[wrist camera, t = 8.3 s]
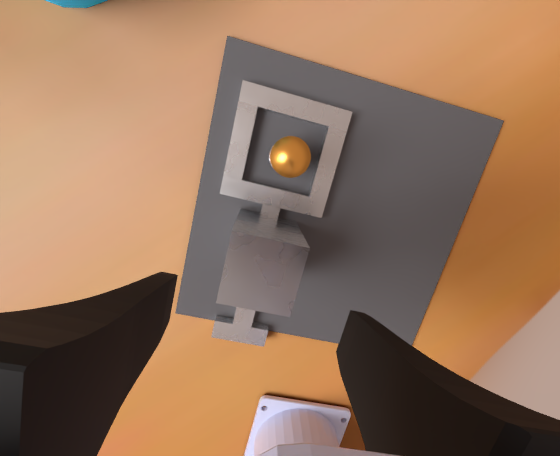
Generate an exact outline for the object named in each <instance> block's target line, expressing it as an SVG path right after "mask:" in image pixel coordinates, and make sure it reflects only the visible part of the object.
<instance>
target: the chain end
mask: <svg viewBox="0 0 560 456" xmlns="http://www.w3.org/2000/svg"><path fill="white" fill-rule="evenodd" d="M258 109H262V110H265V111H269V112H272V113H276V114H280V115H283V116H287V117H290V118H294V119H297V120H301V121H305V122H308V123H312V124H315V125H319V126H323V127H326V130H325V134H324V138H323V141H322V145H321V148H320V152H319V156H318V159H317V163H316V167H315V170H314V174H313V177H312V181H311V185H310V188H309V192H308V195H305V194H300V193H296V192H292V191H288V190H284V189H280V188H276V187H272V186H268V185H264V184H260V183H256V182H252V181H248V180H244V179H243V174H244V170H245V165H246V161H247V156H248V152H249V147H250V143H251V138H252V133H253V129H254V124H255V120H256V115H257V111H258ZM351 116H352V112H351V111H348V110H344V109H341V108H338V107H334V106H331V105H327V104H324V103H320V102H317V101H313V100H310V99H307V98H303V97H300V96H296V95H293V94H289V93H286V92H282V91H279V90H276V89H272V88H269V87H265V86H262V85H258V84H255V83H251V82H248V81H244V80H243V81H242V86H241V91H240V96H239V101H238V106H237V111H236V116H235V121H234V126H233V130H232V135H231V140H230V145H229V150H228V155H227V160H226V165H225V170H224V175H223V179H222V184H221V189H220V194H223V195H227V196H231V197H236V198H240V199H244V200H248V201H252V202H256V203H261V204H262V208H261V212H260V213H257V212H253V211H249V210H245V209H240V211H239V214H238V216H237V219H236V221H235V224H234V226H233V229H232V232H231V236H230V241H229V245H228V250H227V255H226V259H225V264H224V268H223V273H222V277H221V282H220V286H219V291H218V295H217V300H216V303H218V304H223V305H229V306H234V307H236V310H235V314H234V318H231V317H226V316H220V315H217V316H216V319H215V323H214V328H213V332H212V337H213V338H219V339H224V340H230V341H236V342H241V343H247V344H253V345H258V346H264V344H265V341H266V337H267V334H268V324H263V323H258V322H253V319H254V315H255V311H260V312H265V313H270V314H275V315H280V316H286V317H290V315H291V312H292V308H293V305H294V301H295V298H296V295H297V291H298V288H299V284H300V281H301V277H302V274H303V270H304V267H305V263H306V260H307V257H308V253H309V250H310V247H309V246H308V244H307V242H306V240H305V238H304V236H303V234H302V232H301V230H300V228H299V226H298V224H297V223H296V221H291V220H287V219H283V218H279V217H278V216H279V212H280V208H282V209H286V210H290V211H294V212H298V213H302V214H307V215H311V216H315V217H319V218H322V215H323V211H324V208H325V205H326V201H327V198H328V194H329V191H330V187H331V184H332V181H333V177H334V174H335V170H336V167H337V164H338V160H339V157H340V153H341V150H342V146H343V143H344V140H345V136H346V133H347V129H348V126H349V122H350V119H351Z"/></svg>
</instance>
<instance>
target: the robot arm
mask: <svg viewBox="0 0 560 456" xmlns="http://www.w3.org/2000/svg"><path fill="white" fill-rule="evenodd" d="M177 276H178V275H175V274H170V273H165V272H159V273H156V274H154V275H151V276H149V277H146V278H144V279H141V280H139V281H136V282H134V283H131V284H129V285H126V286H123V287H121V288H118V289H115V290H112V291H109V292H106V293H103V294H100V295H97V296H93V297H90V298H86V299H82V300H78V301H74V302H69V303H64V304H59V305H53V306H47V307H42V308H36V309H30V310H22V311H14V312H4V313H0V456H97V454H98V452H99V450H100V448H101V446H102V444H103V442H104V439H105V437H106V435H107V433H108V431H109V429H110V427H111V425H112V423H113V421H114V419H115V417H116V415H117V413H118V411H119V409H120V407H121V405H122V403H123V402H124V400H125V398H126V396H127V395H128V393H129V391H130V390H131V388H132V386H133V385H134V383H135V382H136V380H137V378H138V377H139V375H140V374H141V372H142V370H143V369H144V367H145V366H146V364H147V362H148V361H149V359H150V357H151V356H152V354H153V353H154V351H155V349H156V348H157V346H158V344H159V343H160V340H161V338H162V336H163V334H164V332H165V329H166V327H167V325H168V323H169V319H170V314H171V308H172V303H173V298H174V292H175V287H176V281H177ZM336 353H337V359H338V364H339V369H340V373H341V377H342V380H343V383H344V386H345V388H346V391H347V394H348V397H349V400H350V403H351V406H352V408H353V411H354V414H355V417H356V420H357V422H358V425H359V428H360V431H361V434H362V438H363V441H364V445H365V449H366V451H364V450H356V449H349V448H342V447H339V446H340V443H341V441H342V438H343V435H344V433H345V430H346V427H347V425H348V422H349V419H350V417H351V413H350V410H349V409H348V408H345V407H339V406H332V405H326V404H320V403H313V402H307V401H301V400H294V399H288V398H282V397H275V396H269V395H264V396H262V397H261V398H260V400H259V404H258V407H257V411H256V414H255V418H254V421H253V425H252V428H251V432H250V435H249V439H248V442H247V446H246V449H245V453H244V456H560V420H557V419H555V418H552V417H549V416H547V415H544V414H541V413H539V412H536V411H533V410H531V409H528V408H526V407H524V406H521V405H519V404H517V403H515V402H512V401H510V400H507V399H505V398H503V397H501V396H499V395H496V394H495V393H492V392H490V391H488V390H486V389H484V388H482V387H480V386H478V385H476V384H474V383H472V382H470V381H468V380H466V379H465V378H463V377H461V376H459V375H457V374H455V373H454V372H452V371H450V370H449V369H447V368H445V367H444V366H442V365H440V364H438V363H437V362H435V361H434V360H432V359H430V358H429V357H427V356H426V355H424V354H423V353H421V352H420V351H419V350H417V349H416V348H414V347H413V346H411V345H410V344H408V343H407V342H406V341H404V340H403V339H401V338H400V337H399V336H397V335H396V334H395V333H393V332H392V331H391V330H389V329H388V328H386V327H385V326H384V325H382V324H381V323H380V322H378V321H377V320H375V319H374V318H372V317H371V316H369V315H367V314H365V313H363V312H358V311H353V310H350V312H349V315H348V318H347V321H346V324H345V327H344V330H343V333H342V336H341V339H340V342H339V345H338V348H337V351H336ZM262 406H266V407H262ZM342 418H343V419H342Z"/></svg>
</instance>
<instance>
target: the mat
mask: <svg viewBox="0 0 560 456" xmlns="http://www.w3.org/2000/svg"><path fill="white" fill-rule="evenodd" d="M243 80H244V81H248V82H251V83H255V84H258V85H262V86H265V87H269V88H272V89H276V90H279V91H282V92H286V93H289V94H293V95H296V96H300V97H303V98H307V99H310V100H313V101H317V102H320V103H324V104H327V105H331V106H334V107H338V108H341V109H344V110H348V111H351V112H352V116H351V119H350V122H349V126H348V129H347V133H346V136H345V140H344V143H343V146H342V150H341V153H340V157H339V160H338V164H337V167H336V170H335V174H334V177H333V181H332V184H331V187H330V191H329V194H328V198H327V201H326V205H325V208H324V211H323V215H322V218H319V217H315V216H311V215H307V214H302V213H298V212H294V211H290V210H286V209H282V208H280V212H279V216H278V217H279V218H283V219H287V220H291V221H296V223H297V224H298V226H299V228H300V230H301V232H302V234H303V236H304V238H305V240H306V242H307V244H308V246H309V247H310V250H309V253H308V257H307V260H306V263H305V267H304V270H303V274H302V277H301V281H300V284H299V288H298V291H297V295H296V298H295V301H294V305H293V308H292V312H291V315H290V317H286V316H280V315H275V314H270V313H265V312H260V311H255V315H254V319H253V322H258V323H263V324H268V331H274V332H279V333H285V334H290V335H295V336H301V337H306V338H311V339H317V340H322V341H328V342H333V343H338V344H339V342H340V339H341V336H342V333H343V330H344V327H345V324H346V321H347V318H348V315H349V312H350V310H353V311H358V312H363V313H365V314H367V315H369V316H371V317H372V318H374V319H375V320H377V321H378V322H380V323H381V324H382V325H384V326H385V327H386V328H388V329H389V330H391V331H392V332H393V333H395V334H396V335H397V336H399V337H400V338H401V339H403V340H404V341H406V342H407V343H408V344H410V345H411V346H412V344H413V341H414V339H415V336H416V334H417V332H418V329H419V327H420V324H421V322H422V319H423V317H424V314H425V312H426V310H427V307H428V305H429V302H430V300H431V297H432V295H433V293H434V290H435V288H436V285H437V283H438V280H439V278H440V275H441V273H442V271H443V268H444V266H445V263H446V261H447V258H448V256H449V253H450V251H451V249H452V246H453V244H454V241H455V239H456V236H457V234H458V231H459V229H460V227H461V224H462V222H463V219H464V217H465V214H466V212H467V210H468V207H469V205H470V202H471V200H472V197H473V195H474V192H475V190H476V188H477V185H478V183H479V180H480V178H481V175H482V173H483V170H484V168H485V166H486V163H487V161H488V158H489V156H490V153H491V151H492V149H493V146H494V144H495V141H496V139H497V136H498V134H499V131H500V129H501V127H502V124H503V122H504V121H503V120H500V119H497V118H493V117H490V116H487V115H483V114H480V113H477V112H474V111H470V110H467V109H464V108H461V107H457V106H454V105H451V104H448V103H444V102H441V101H438V100H435V99H431V98H428V97H425V96H422V95H418V94H415V93H412V92H409V91H405V90H402V89H399V88H396V87H392V86H389V85H386V84H383V83H379V82H376V81H373V80H370V79H366V78H363V77H360V76H357V75H353V74H350V73H347V72H344V71H340V70H337V69H334V68H330V67H327V66H324V65H321V64H317V63H314V62H311V61H308V60H304V59H301V58H298V57H295V56H291V55H288V54H285V53H282V52H278V51H275V50H272V49H269V48H265V47H262V46H259V45H256V44H252V43H249V42H246V41H243V40H239V39H236V38H233V37H230V36H227V40H226V46H225V51H224V56H223V62H222V67H221V72H220V78H219V83H218V89H217V94H216V99H215V105H214V110H213V115H212V121H211V126H210V131H209V137H208V142H207V147H206V153H205V158H204V163H203V169H202V174H201V179H200V185H199V190H198V196H197V201H196V206H195V212H194V217H193V222H192V228H191V233H190V238H189V244H188V249H187V254H186V260H185V265H184V270H183V276H182V281H181V287H180V292H179V297H178V303H177V308H176V313H177V314H182V315H188V316H193V317H198V318H204V319H209V320H215V319H216V316H217V315H220V316H226V317H231V318H234V314H235V310H236V307H234V306H229V305H223V304H218V303H216V300H217V295H218V291H219V286H220V282H221V277H222V273H223V268H224V264H225V259H226V255H227V250H228V245H229V241H230V236H231V232H232V229H233V226H234V224H235V221H236V219H237V216H238V214H239V211H240V209H245V210H249V211H253V212H257V213H260V212H261V208H262V204H261V203H256V202H252V201H248V200H244V199H240V198H236V197H231V196H227V195H223V194H220V189H221V184H222V179H223V175H224V170H225V165H226V160H227V155H228V150H229V145H230V140H231V135H232V130H233V126H234V121H235V116H236V111H237V106H238V101H239V96H240V91H241V86H242V81H243ZM325 130H326V127H323V126H319V125H315V124H312V123H308V122H305V121H301V120H297V119H294V118H290V117H287V116H283V115H280V114H276V113H272V112H269V111H265V110H262V109H258V111H257V115H256V120H255V124H254V129H253V133H252V138H251V143H250V147H249V152H248V156H247V161H246V165H245V170H244V174H243V179H244V180H248V181H252V182H256V183H260V184H264V185H268V186H272V187H276V188H280V189H284V190H288V191H292V192H296V193H300V194H305V195H308V192H309V188H310V185H311V181H312V177H313V174H314V170H315V167H316V163H317V159H318V156H319V152H320V148H321V145H322V141H323V138H324V134H325ZM286 136H295V137H298V138H300V139H302V140H303V141H304V142H305V143H306V144H307V145H308V147H309V149H310V153H311V161H310V164H309V167H308V168H307V170H306V171H305V172H304V173H303V174H301V175H300V176H297V177H294V178H287V177H283V176H281V175H280V174H278V173H277V172H276V171H275V170H274V169H273V168H272V166H271V165H270V163H269V160H268V153H269V150H270V148H271V147H272V146H273V145H274V144H275V143H276V142H277V141H278V140H280V139H281V138H283V137H286Z"/></svg>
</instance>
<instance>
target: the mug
mask: <svg viewBox="0 0 560 456" xmlns="http://www.w3.org/2000/svg"><path fill="white" fill-rule="evenodd" d="M45 1H48V2H51V3H54V4H56V5H59V6H62V7H72V8H88V7H91V6H94V5H96V4H99V3H102V2H105V1H107V0H45Z"/></svg>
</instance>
